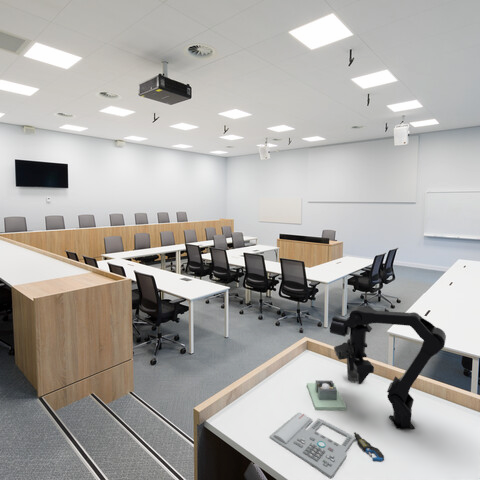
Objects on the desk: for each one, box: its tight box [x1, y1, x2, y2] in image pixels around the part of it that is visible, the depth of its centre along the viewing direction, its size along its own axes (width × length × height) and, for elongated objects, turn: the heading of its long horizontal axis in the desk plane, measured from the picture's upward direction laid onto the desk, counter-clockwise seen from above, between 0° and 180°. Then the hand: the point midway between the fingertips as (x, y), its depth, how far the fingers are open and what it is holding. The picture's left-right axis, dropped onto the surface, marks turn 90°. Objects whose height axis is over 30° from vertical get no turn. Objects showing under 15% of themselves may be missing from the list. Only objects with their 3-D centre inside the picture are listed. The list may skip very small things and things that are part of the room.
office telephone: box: [269, 412, 357, 479], centre depth 109 cm, size 23×3×20 cm
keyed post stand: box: [306, 382, 347, 411], centre depth 131 cm, size 16×12×5 cm
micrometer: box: [353, 431, 385, 462], centre depth 106 cm, size 12×2×5 cm
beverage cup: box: [346, 358, 358, 383], centre depth 143 cm, size 7×7×20 cm
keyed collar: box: [314, 380, 338, 400], centre depth 131 cm, size 7×7×4 cm
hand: (355, 377), depth 125 cm, fingers open, 9 cm apart
